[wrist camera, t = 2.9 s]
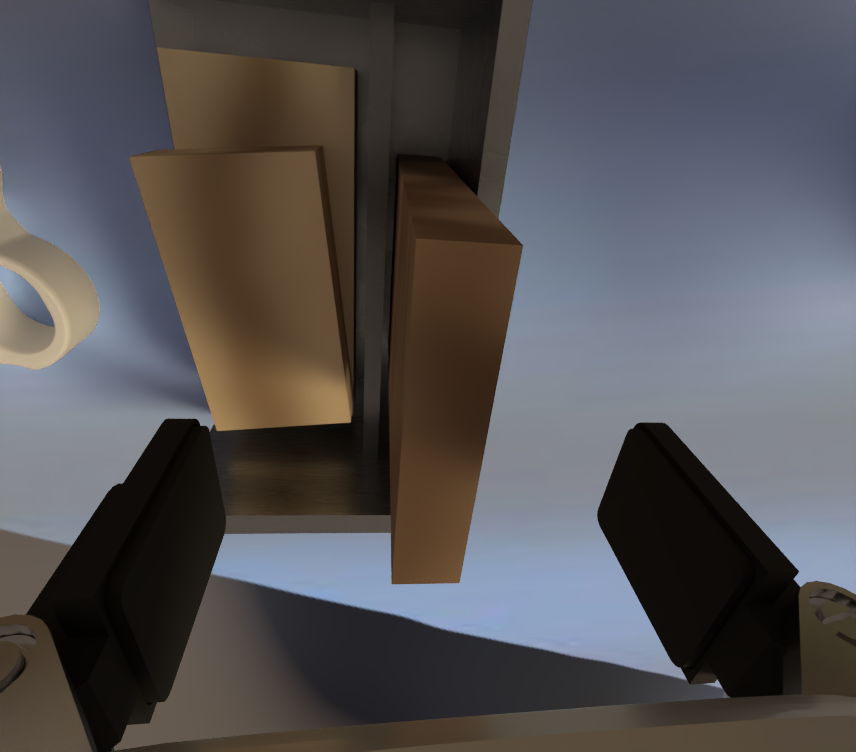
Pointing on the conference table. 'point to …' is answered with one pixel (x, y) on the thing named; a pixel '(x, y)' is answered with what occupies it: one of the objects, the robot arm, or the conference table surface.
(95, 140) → the conference table surface
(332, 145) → the offcut lower
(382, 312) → the rack
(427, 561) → the wooden plank
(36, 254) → the white brass knuckles
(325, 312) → the offcut upper
